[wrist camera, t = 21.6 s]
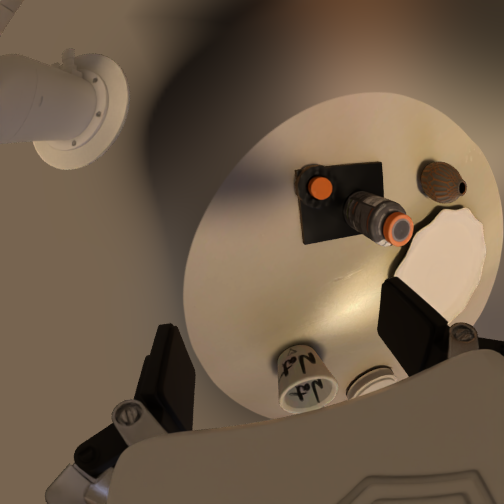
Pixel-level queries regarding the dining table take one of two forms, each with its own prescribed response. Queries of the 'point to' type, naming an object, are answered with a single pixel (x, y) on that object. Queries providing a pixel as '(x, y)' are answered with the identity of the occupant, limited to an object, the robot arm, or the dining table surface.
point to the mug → (304, 380)
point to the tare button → (320, 187)
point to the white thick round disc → (372, 382)
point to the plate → (445, 261)
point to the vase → (442, 182)
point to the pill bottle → (378, 219)
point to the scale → (334, 198)
